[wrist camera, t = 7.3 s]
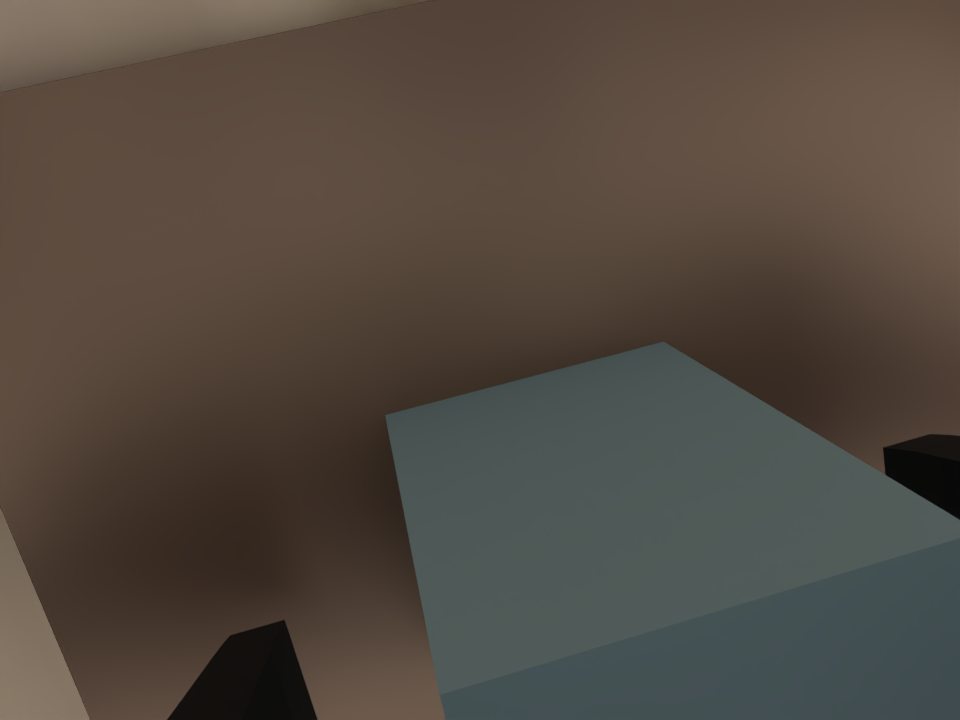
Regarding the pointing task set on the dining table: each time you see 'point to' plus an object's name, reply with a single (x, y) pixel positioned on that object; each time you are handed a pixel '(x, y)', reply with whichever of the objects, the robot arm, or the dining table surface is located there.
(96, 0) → the dining table surface
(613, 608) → the teal block
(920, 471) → the robot arm
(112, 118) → the walnut base
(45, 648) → the dining table surface
